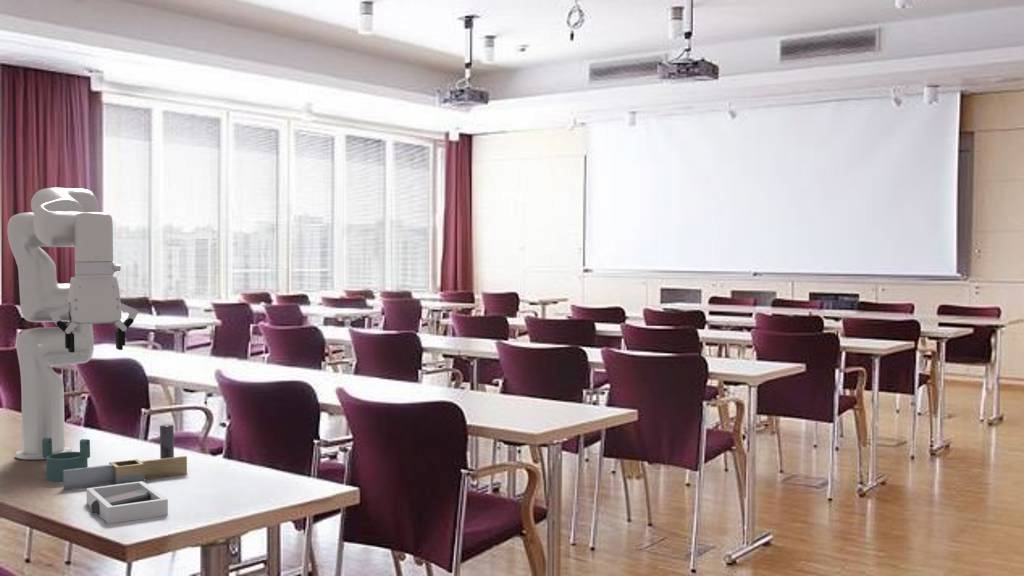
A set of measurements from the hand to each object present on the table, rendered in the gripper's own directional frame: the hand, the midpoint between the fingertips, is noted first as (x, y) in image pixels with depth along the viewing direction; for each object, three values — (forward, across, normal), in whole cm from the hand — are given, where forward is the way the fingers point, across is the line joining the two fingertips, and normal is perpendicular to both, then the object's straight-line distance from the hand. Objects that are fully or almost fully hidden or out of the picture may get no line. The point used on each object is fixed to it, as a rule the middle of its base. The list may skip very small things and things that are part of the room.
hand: (95, 350), depth 212 cm
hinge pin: (+30, -18, -12) cm, 36 cm away
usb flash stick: (+30, -1, +21) cm, 36 cm away
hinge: (+30, -7, -3) cm, 31 cm away
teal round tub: (+30, +4, -14) cm, 33 cm away
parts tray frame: (+30, -1, +21) cm, 36 cm away
